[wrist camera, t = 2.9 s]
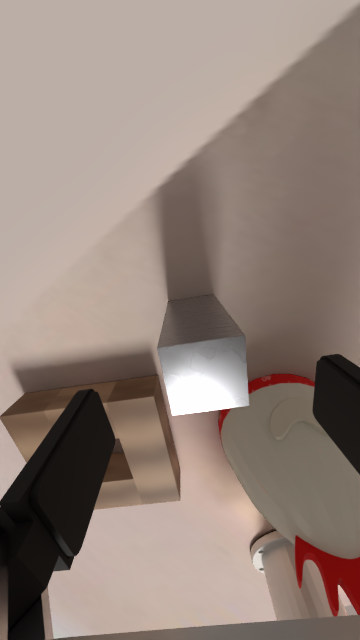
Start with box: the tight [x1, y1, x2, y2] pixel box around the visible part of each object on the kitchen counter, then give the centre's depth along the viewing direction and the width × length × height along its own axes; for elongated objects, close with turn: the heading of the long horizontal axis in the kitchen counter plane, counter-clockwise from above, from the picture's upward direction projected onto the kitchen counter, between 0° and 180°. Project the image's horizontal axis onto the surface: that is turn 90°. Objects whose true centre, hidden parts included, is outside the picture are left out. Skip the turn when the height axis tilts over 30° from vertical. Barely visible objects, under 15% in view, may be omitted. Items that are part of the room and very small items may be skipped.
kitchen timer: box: [218, 374, 360, 617], centre depth 18 cm, size 14×14×15 cm
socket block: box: [0, 375, 180, 509], centre depth 24 cm, size 16×16×4 cm
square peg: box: [157, 294, 249, 416], centre depth 15 cm, size 4×4×10 cm
